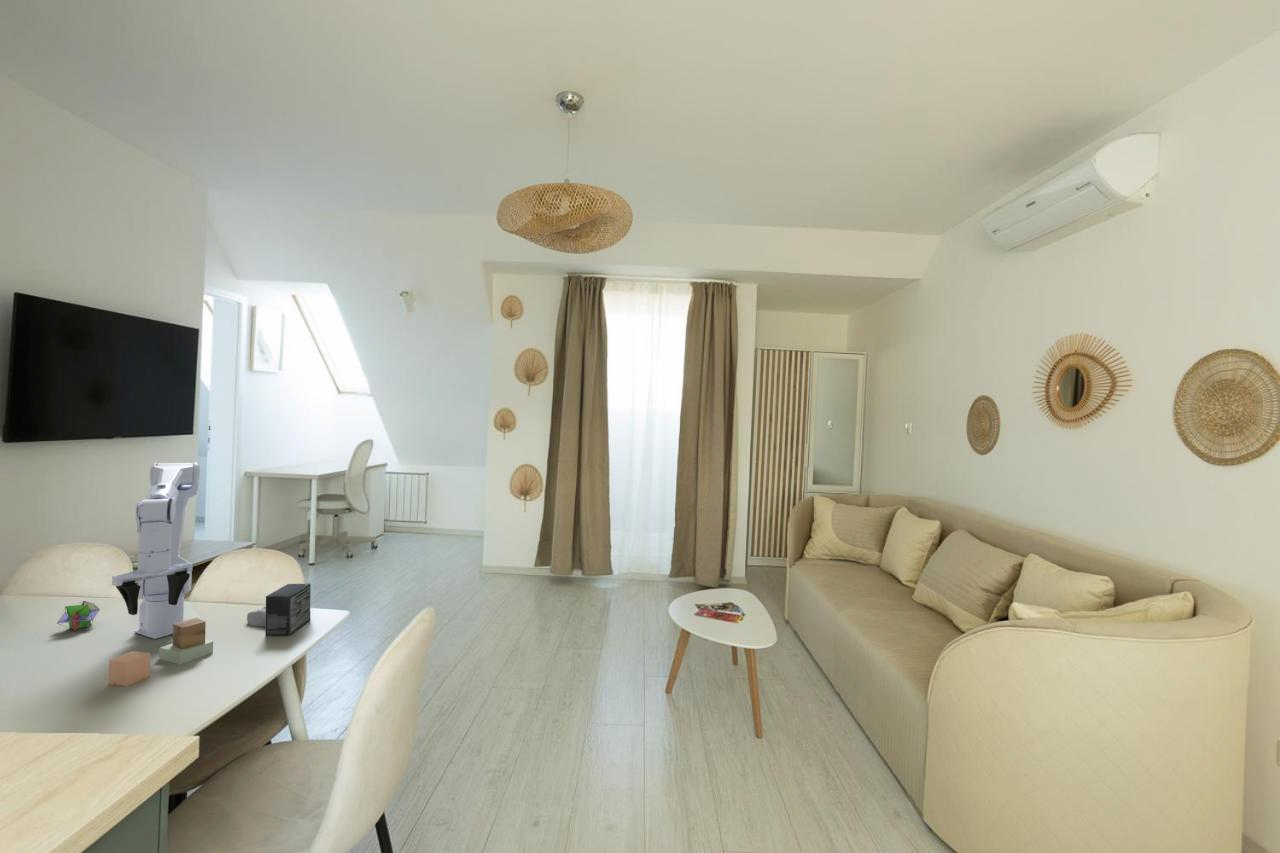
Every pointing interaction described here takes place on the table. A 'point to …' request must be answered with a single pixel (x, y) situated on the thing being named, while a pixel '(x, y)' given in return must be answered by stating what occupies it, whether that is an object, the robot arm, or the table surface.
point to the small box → (287, 609)
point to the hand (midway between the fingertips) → (153, 609)
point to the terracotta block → (129, 668)
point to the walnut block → (189, 633)
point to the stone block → (257, 617)
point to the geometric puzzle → (79, 615)
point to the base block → (185, 652)
